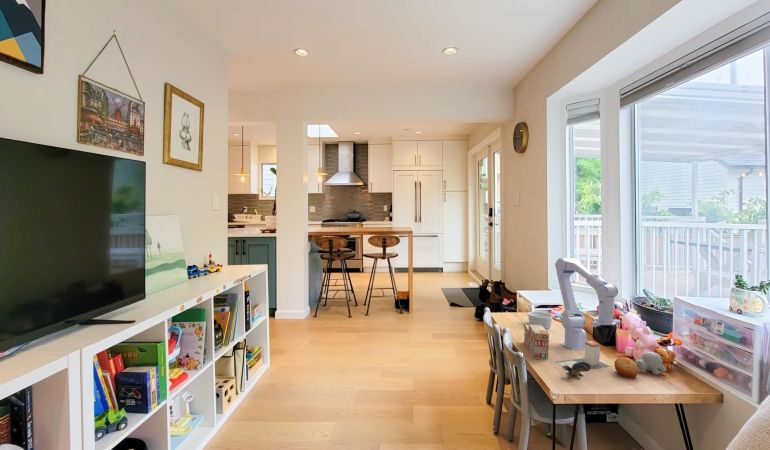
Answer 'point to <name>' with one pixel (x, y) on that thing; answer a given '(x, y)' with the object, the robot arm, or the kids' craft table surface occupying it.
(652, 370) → the toy rhinoceros
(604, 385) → the kids' craft table surface
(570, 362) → the mat
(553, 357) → the kids' craft table surface
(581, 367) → the squirrel figurine
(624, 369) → the fruit
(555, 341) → the kids' craft table surface
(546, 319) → the ramekin
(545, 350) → the stack of blocks
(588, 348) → the tall block
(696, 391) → the kids' craft table surface
